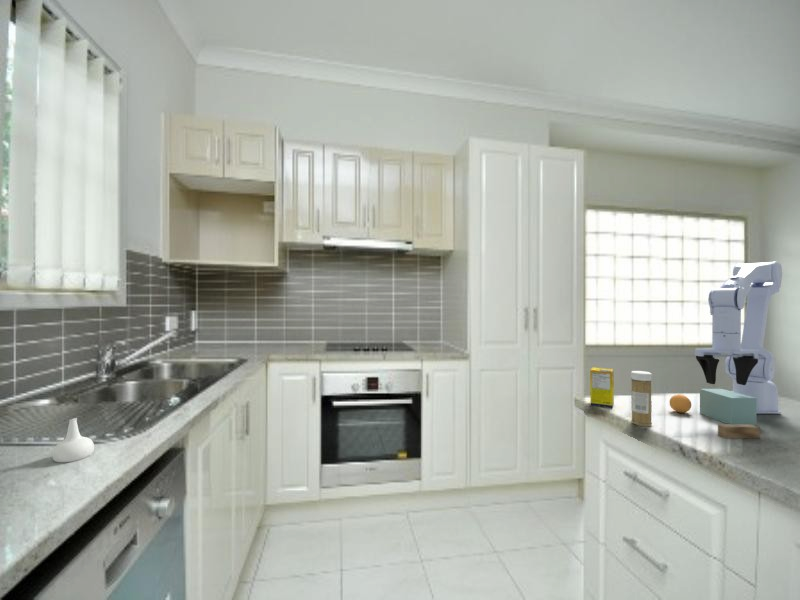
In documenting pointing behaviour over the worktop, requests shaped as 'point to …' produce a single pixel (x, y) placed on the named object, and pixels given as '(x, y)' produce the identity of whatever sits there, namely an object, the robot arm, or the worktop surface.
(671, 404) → the ball
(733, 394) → the pale mint block
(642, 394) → the sprinkles bottle
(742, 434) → the strip
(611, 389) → the supplement box
